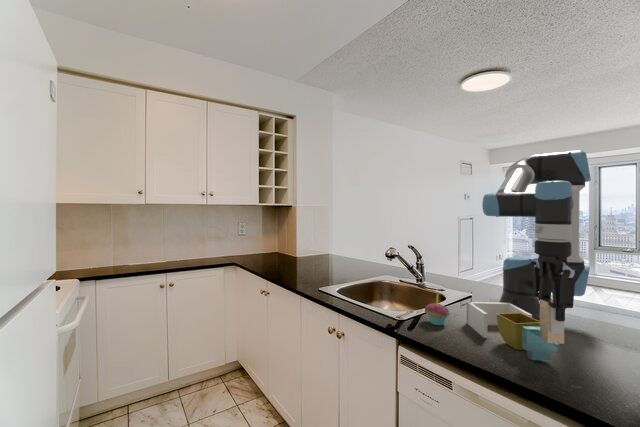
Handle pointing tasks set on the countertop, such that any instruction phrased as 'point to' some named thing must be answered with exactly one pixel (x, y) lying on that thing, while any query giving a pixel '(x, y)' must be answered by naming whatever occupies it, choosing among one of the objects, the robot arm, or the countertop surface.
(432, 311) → the cupcake
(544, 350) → the rod
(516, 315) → the flower pot
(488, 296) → the countertop surface
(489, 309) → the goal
